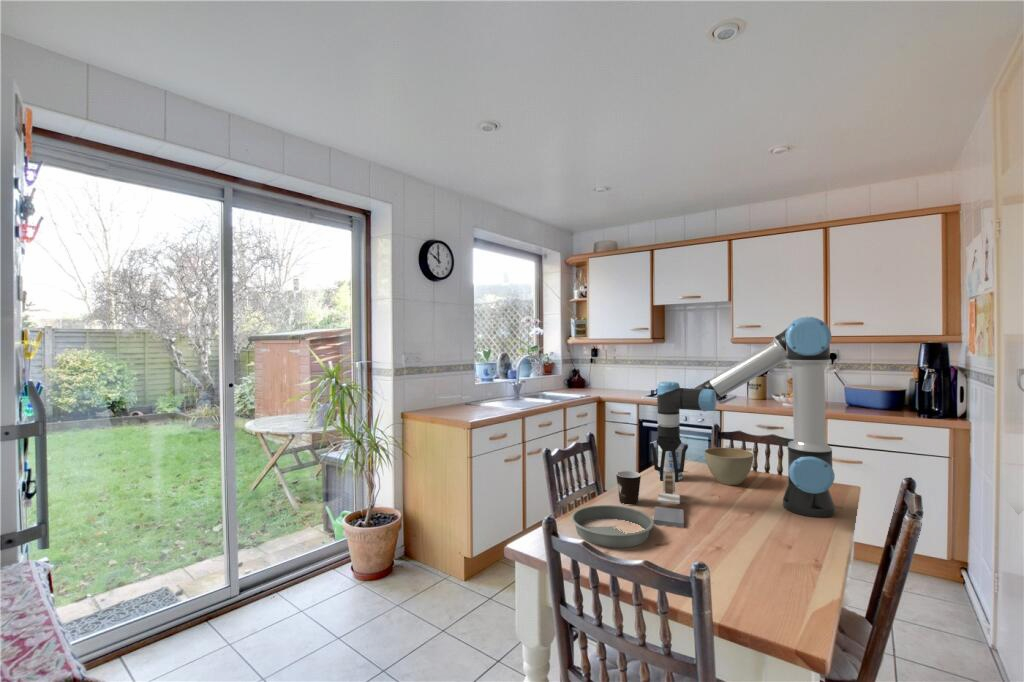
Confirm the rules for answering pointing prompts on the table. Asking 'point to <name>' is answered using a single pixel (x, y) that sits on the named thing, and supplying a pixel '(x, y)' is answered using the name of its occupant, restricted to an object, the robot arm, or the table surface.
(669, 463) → the supplement tub
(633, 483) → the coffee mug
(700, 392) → the robot arm
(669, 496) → the wooden handled spatula
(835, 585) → the table surface
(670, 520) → the standing tile
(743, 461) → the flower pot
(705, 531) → the table surface
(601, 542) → the cake pan
